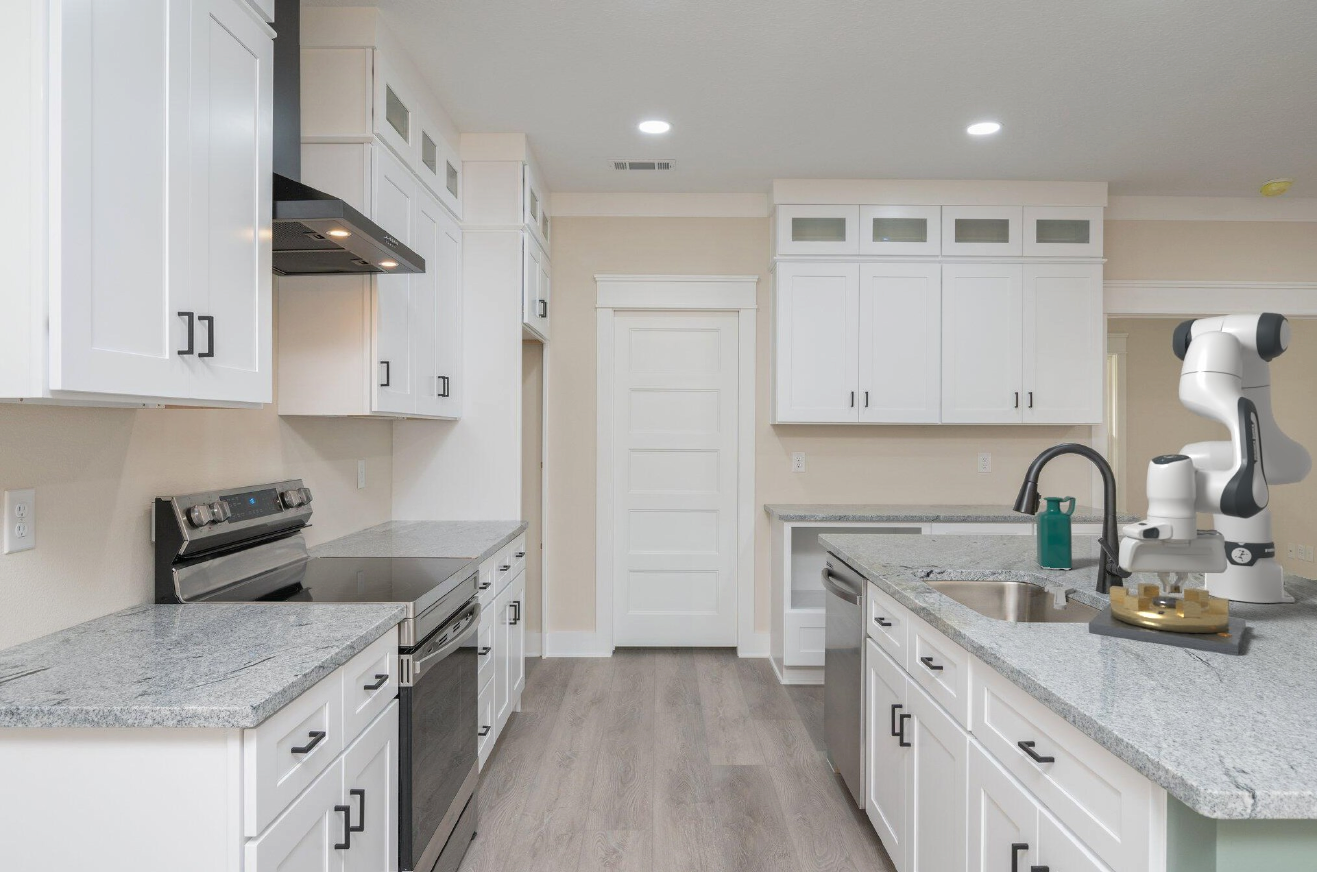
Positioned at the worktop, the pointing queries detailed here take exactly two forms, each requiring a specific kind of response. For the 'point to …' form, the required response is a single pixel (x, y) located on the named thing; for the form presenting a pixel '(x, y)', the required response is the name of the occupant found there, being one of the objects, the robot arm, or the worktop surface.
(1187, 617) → the ring nut
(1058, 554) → the pitcher
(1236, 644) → the base plate
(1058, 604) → the adjustable wrench
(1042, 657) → the worktop surface
